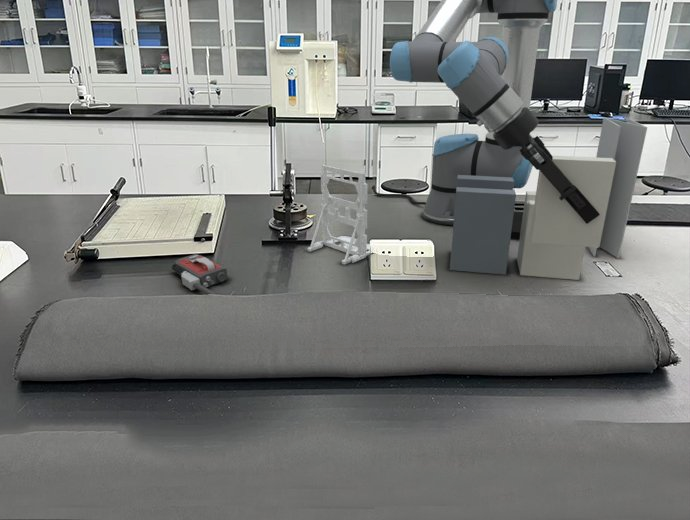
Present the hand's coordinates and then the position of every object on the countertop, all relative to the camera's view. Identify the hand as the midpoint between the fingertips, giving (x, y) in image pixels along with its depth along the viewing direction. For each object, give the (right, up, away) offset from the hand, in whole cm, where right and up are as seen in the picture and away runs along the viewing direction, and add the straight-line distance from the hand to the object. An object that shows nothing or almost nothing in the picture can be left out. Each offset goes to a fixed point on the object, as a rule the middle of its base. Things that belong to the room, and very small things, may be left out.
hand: (590, 215), depth 97 cm
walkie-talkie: (-75, -13, +14) cm, 77 cm away
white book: (-4, -5, +3) cm, 7 cm away
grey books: (-15, -9, +24) cm, 30 cm away
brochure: (+18, -5, +33) cm, 38 cm away
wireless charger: (+2, 0, +46) cm, 46 cm away
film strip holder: (-45, -6, +32) cm, 55 cm away
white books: (0, -10, +21) cm, 23 cm away
